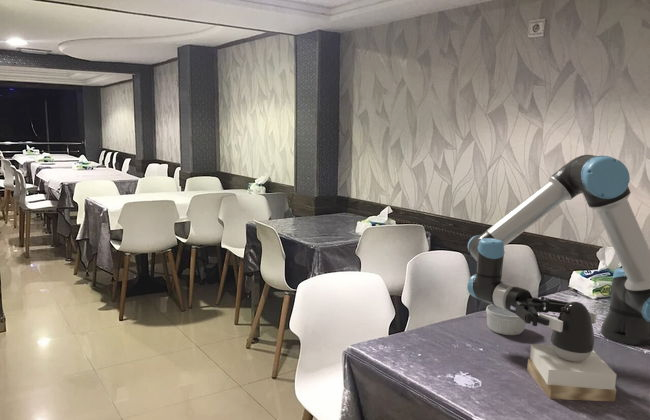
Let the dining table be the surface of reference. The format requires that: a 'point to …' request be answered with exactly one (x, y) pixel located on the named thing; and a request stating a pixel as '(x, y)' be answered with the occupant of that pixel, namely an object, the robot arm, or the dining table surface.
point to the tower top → (572, 369)
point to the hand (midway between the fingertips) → (579, 322)
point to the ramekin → (504, 321)
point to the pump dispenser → (574, 333)
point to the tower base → (570, 389)
